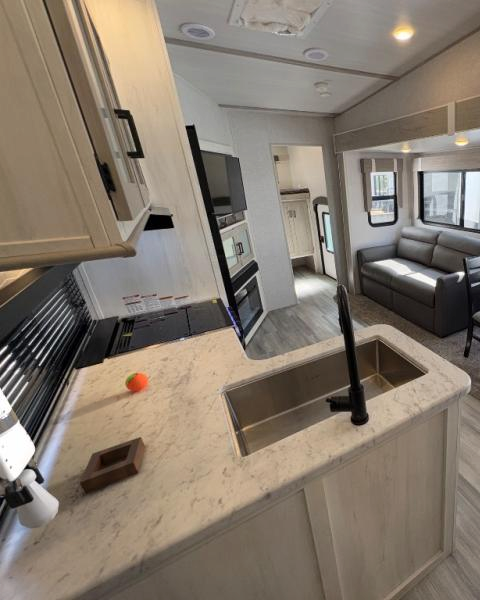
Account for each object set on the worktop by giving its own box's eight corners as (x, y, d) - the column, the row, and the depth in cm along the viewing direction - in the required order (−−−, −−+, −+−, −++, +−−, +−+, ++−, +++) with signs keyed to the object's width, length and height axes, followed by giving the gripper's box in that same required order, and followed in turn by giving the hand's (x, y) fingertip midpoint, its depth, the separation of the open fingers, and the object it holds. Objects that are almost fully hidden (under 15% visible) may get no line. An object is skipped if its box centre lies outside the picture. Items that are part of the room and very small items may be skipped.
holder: (85, 493, 79) (79, 482, 78) (98, 464, 88) (92, 453, 87) (138, 473, 84) (133, 462, 83) (145, 446, 93) (140, 436, 92)
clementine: (139, 396, 118) (132, 380, 116) (121, 396, 119) (114, 381, 116) (155, 383, 126) (149, 368, 123) (138, 384, 126) (132, 369, 124)
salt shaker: (66, 514, 69) (41, 471, 65) (28, 537, 65) (-2, 493, 60) (58, 502, 72) (33, 460, 68) (21, 523, 68) (-8, 480, 63)
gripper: (-17, 409, 65) (23, 474, 71) (-77, 466, 51) (-22, 540, 57) (34, 397, 68) (67, 459, 75) (-10, 447, 55) (35, 518, 61)
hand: (28, 493), depth 66 cm, fingers closed on salt shaker, 4 cm apart
